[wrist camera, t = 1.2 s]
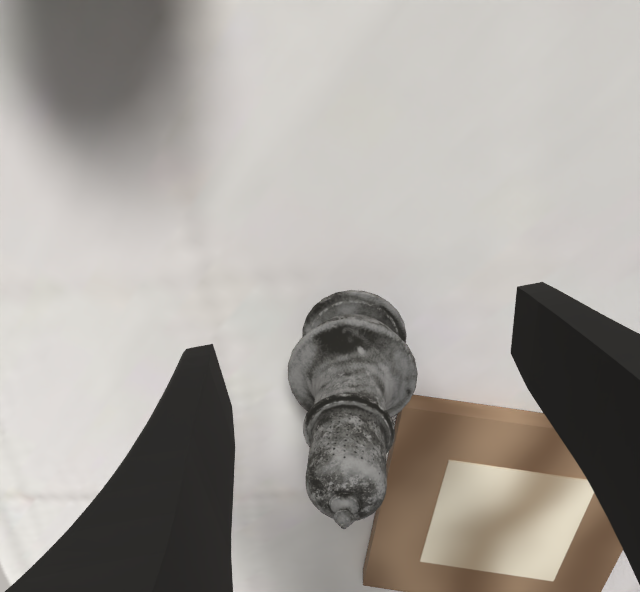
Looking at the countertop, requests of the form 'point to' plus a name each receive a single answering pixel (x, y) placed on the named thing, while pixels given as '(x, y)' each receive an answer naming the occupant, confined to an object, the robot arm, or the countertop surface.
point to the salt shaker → (351, 399)
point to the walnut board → (485, 506)
